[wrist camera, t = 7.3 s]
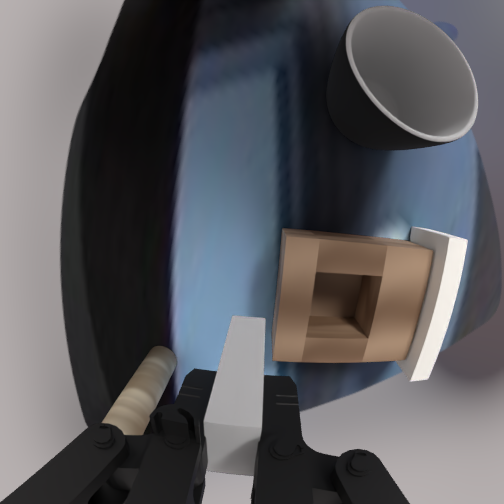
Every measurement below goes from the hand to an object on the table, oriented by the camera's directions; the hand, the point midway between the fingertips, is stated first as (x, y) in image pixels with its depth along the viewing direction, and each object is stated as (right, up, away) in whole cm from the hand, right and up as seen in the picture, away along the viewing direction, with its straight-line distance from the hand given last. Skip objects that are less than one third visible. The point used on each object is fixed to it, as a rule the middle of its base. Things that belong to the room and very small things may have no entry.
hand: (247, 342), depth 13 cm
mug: (+10, +18, +7) cm, 22 cm away
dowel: (-9, -6, +13) cm, 17 cm away
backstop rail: (+15, +1, +10) cm, 18 cm away
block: (+8, +1, +11) cm, 13 cm away
